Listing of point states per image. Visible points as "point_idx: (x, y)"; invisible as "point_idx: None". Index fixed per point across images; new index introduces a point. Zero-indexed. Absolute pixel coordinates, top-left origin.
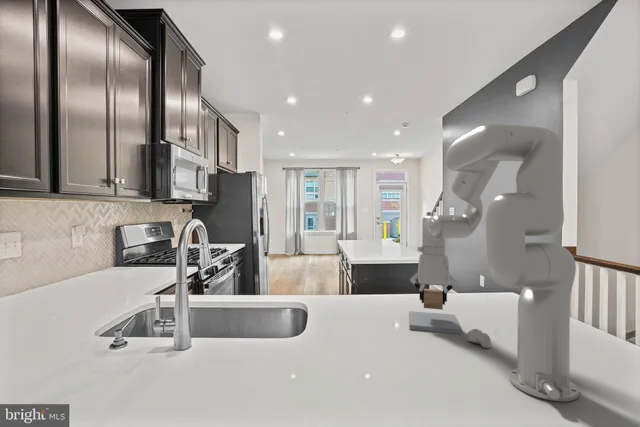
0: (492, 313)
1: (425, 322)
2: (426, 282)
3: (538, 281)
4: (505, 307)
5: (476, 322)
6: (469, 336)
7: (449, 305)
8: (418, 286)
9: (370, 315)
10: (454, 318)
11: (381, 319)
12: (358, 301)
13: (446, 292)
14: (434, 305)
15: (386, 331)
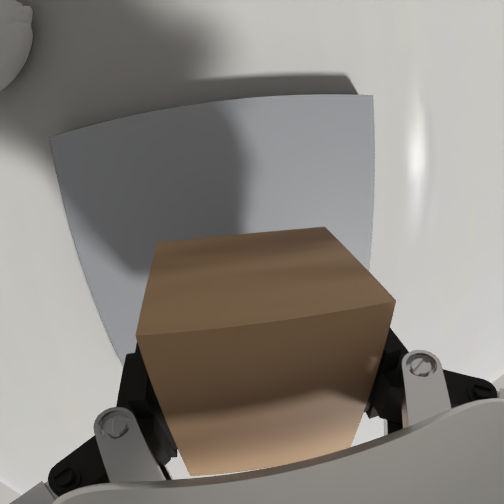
0: (43, 442)
1: (279, 174)
2: (439, 442)
3: None
4: (43, 478)
5: (41, 349)
6: (19, 19)
7: (187, 474)
8: (453, 392)
9: (490, 250)
10: (115, 326)
11: (466, 215)
12: (480, 372)
13: (113, 416)
14: (234, 249)
15: (447, 47)
